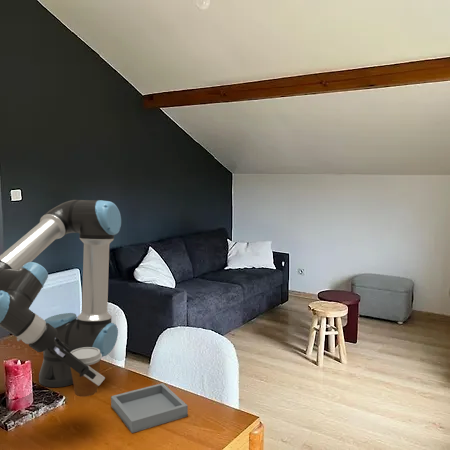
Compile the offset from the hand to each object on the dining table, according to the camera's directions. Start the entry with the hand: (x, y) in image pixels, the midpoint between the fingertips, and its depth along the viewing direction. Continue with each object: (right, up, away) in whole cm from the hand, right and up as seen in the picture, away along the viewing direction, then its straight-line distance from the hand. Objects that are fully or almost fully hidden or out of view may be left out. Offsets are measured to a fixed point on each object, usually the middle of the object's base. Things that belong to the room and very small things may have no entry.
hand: (96, 375), depth 139 cm
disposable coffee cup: (-3, -5, -1) cm, 6 cm away
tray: (+14, -14, +8) cm, 21 cm away
